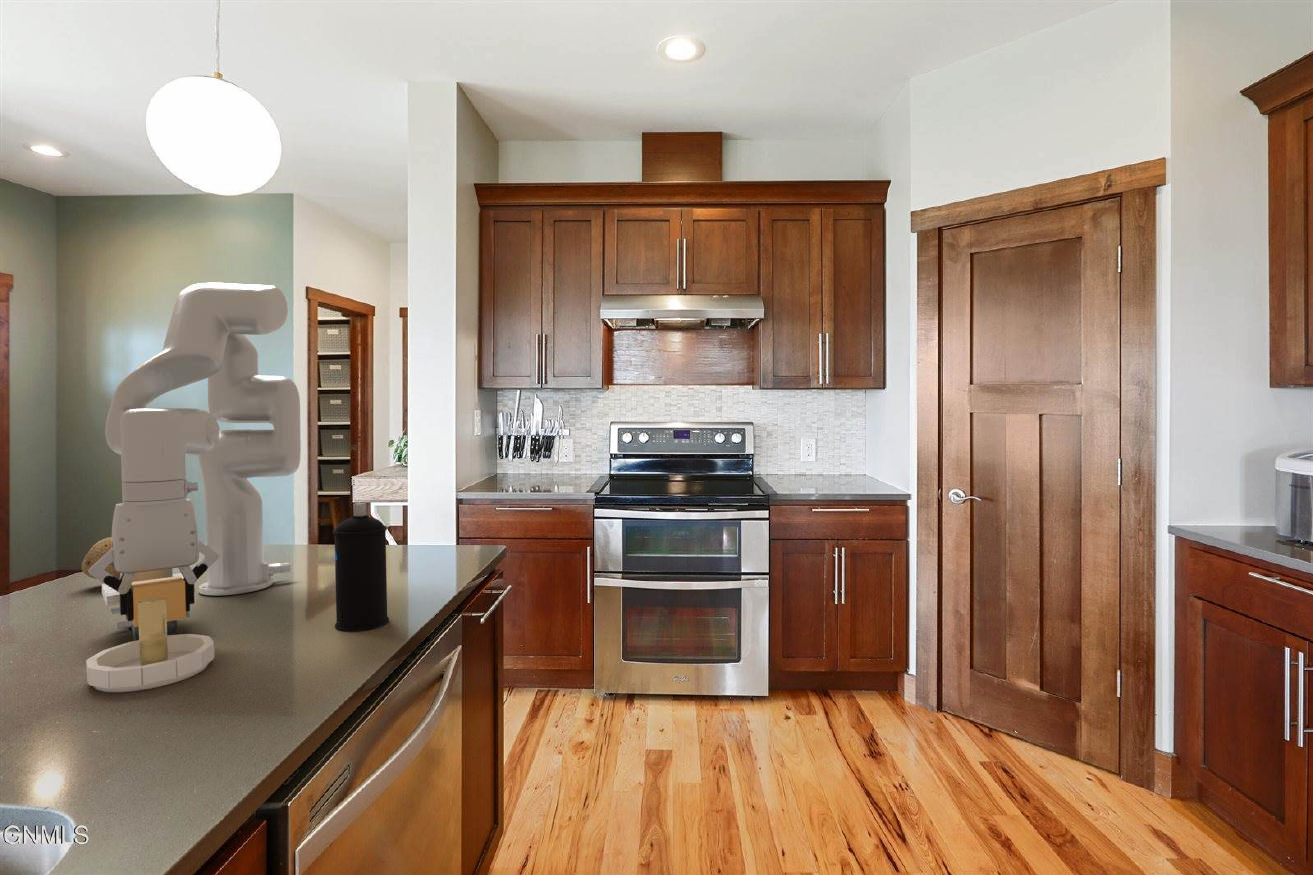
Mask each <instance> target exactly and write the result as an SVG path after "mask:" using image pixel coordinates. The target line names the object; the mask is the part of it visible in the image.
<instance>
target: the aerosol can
mask: <svg viewBox="0 0 1313 875" xmlns="http://www.w3.org/2000/svg"><path fill="white" fill-rule="evenodd" d="M352 507H353V509H352V510H353V515H352V516H351V517H349V518H346V519H345V520H343V521H341V522H340V523H339V524H338V525H337V526H336V528H334V529H333V530H332V534H333V535H334V536H333V537H334V566H335V575H334V576H335V612H336V614H335V617H336V619H335V620H336V622H335V624H334V628H335V629H336V630H338V631H342V632H363V631H364V632H365V631H370V630H375V629H377V628H378V629H379V628H381V627H382V626H385V625H387V624H388V623H389V621H390V617H389V616H388V588H387V587H388V585H387V583H388V582H387V544H386V543H387V536H386V533H387V530H388V526H386V525H384V523H383V522H382V521H381V520H379V519H378V518H376V517H372V516H369V515H367V503H366V502H356V503H355V502H354V503H353V504H352Z"/></svg>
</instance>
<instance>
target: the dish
mask: <svg viewBox="0 0 1313 875" xmlns="http://www.w3.org/2000/svg"><path fill="white" fill-rule="evenodd" d="M167 643H168V661H163V662H158V663H153V664H148V665H144V666H140V645H139V640H137V641H134V640H133V641H128V642H125V643H122V644H119V645H116V646H113V647H109V648H107V649H103V650H101V651H99V652H98V653H96V654H94V655H92V656H91V657H89V658H87V659H86V661H85V662H86V663H85V666H86V681H87V684H88V686H92V687H93V688H94V689H95V690H97V691H99V692H105V693H127V692H129V693H130V692H136V691H145V690H150V689H155V688H160V687H163V686H168V685H171V684H175V683H177V682H181V681H183V680H186V679H189V678H191V677H194V676H196V675H197V674H200V673H201V672H203V671H204V670H206V669H207V667H208V666H209V664H210V663H211V661H213V660H214V659H215V641H214V640H213V639H212V638H211V636H209V635H202V634H194V633H184V634H183V633H182V634H181V633H180V634H176V635H167Z"/></svg>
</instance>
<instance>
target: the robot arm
mask: <svg viewBox="0 0 1313 875" xmlns="http://www.w3.org/2000/svg"><path fill="white" fill-rule="evenodd" d="M288 310H289V309H288V302H287V299H286V296H285V294H284V293H283V292H282V290H281V289H280V288H278V287H277V286H275V285H267V284H266V285H265V284H245V283H244V284H243V283H229V282H226V283H224V282H205V283H204V282H201V283H196V284H192V285H190V286H189V285H188V287H186V288H185V289H182V291H180V292H179V293H178V295H177V297H176V299H175V303H174V307H173V310H172V313H171V317H170V321H169V325H168V329H167V331H166V334H165V339H164V342H163V348H162V350H161V351H160V352H159V353H158V354H156V355H154V356H152V357H151V358H149V359H148V360H146V361H145V362H143V363H142V364H140V365H139V366H138V367H136V368H135V369H134V370H133V371H132V372H130V373H129V374H128V375H127V376H126V377H124V379H123V380H121V382H120V383H119V384H118V386H117V387H116V389H115V391H114V393H113V396H112V399H111V403H110V405H109V406H110V407H109V410H108V413H107V416H106V420H105V427H104V428H105V429H104V434H105V435H104V436H105V440H106V443H107V445H108V447H109V448H110V450H112V452H114V453H115V454H117V455H120V459H121V460H120V461H121V463H120V464H121V495H122V498H121V499H122V502H121V503H116V504H115V507H114V510H113V516H112V522H111V523H112V525H111V537H112V541H111V549H110V550H109V551H108V552H107V553H106V554H105V555H104V556H103V557H101V558H100V559H99V560H98V561H97V562H96V563H95V564H94V565H93V566H92V567H91V568H90V569H89V570H88V572H89V574H90V575H91V576H93V577H95V578H96V579H95V578H94V579H95V580H98V581H100V582H102V584H106V585H108V586H109V587H111V588H113V589H114V590H116V591H117V592H119V593H120V604H119V607H120V614H119V615H120V616H125V619H126V618H127V620H128V621H132V620H133V619H134V612H133V593H132V591H131V587H130V586H131V584H132V582H133V580H134V578H135V575H136V573H140V572H148V571H156V570H164V569H171V568H172V569H177V568H178V570H179V572H180V573H181V574H182V575H183V577H184V578H183V580H184V581H185V601H186V612H187V611H189V612H190V611H191V605H194V604H195V602H196V601H195V593H194V583H195V584H196V583H197V581H198V580H199V578H201V576H202V575H204V574H205V573H206V572H207V581H206V582H203V583H202V584H200V585H198V593H199V594H201V595H204V596H212V597H213V596H214V597H215V596H231V595H234V596H235V595H239V594H247V593H252V592H256V591H259V590H263V589H266V588H269V587H270V586H272V585H273V583H274V578H273V577H272V576H274V574H285V573H289V572H291V563H290V562H284V563H283V562H282V563H280V562H278V563H277V562H276V563H269V562H267V561H265V560H264V559H265V558H264V556H265V554H264V527H263V525H264V524H263V523H264V522H263V521H264V517H263V499H262V496H261V495H260V493H259V491H258V490H257V489H256V487H255V486H254V485H253V484H252V483H251V482H250V481H249V480H248V479H250V478H270V477H271V478H272V477H273V478H275V477H287V476H292V475H293V474H295V473H296V472H297V471H298V469H299V468H300V467H299V466H300V463H301V448H302V447H301V444H302V442H301V401H300V400H301V399H300V394H299V389H298V387H297V385H296V382H295V381H293V380H292V379H291V378H289V377H286V376H280V375H260V374H259V366H258V365H259V361H258V360H259V356H258V350H257V348H256V347H255V345H254V344H253V343H252V342H251V340H250V339H249V338H248V337H247V336H246V335H248V336H249V335H252V336H253V335H255V336H257V335H259V336H260V335H263V336H264V335H268V334H271V333H273V332H274V331H277V330H279V329H281V328H282V327H283V326H284V324H285V323H286V321H287V317H288ZM206 379H207V406H208V411H207V410H205V409H201V408H193V407H192V408H189V407H187V408H185V407H183V408H180V407H179V408H174V407H173V408H171V407H161V408H160V407H148V405H150V403H152V402H153V401H154V400H155V399H157V398H159V397H160V396H162V395H164V394H166V393H169V392H171V391H174V390H176V389H177V390H178V389H180V388H182V387H183V388H184V387H186V386H190V385H193V384H195V383H197V382H200V381H203V380H206ZM218 422H219V423H220V422H221V423H227V424H228V423H229V424H265V423H266V424H271V425H272V427H273V429H223V430H220V425H219V423H218ZM186 456H187V457H188V456H198V462H199V466H200V470H201V475H202V480H203V486H204V497H205V500H204V501H205V524H206V526H205V528H206V533H205V534H206V544H205V543H203V542H202V541H201V540H199V531H198V524H197V518H196V512H195V507H194V504H193V502H192V499H191V498H187V497H188V495H189V493H192V492H198V490H199V485H198V482H192V481H189V480H187V479H186V478H187V477H186ZM200 554H202V555H203V556H204V558H203V559H202V560H201V561H200V562H199V563H198V564H197V565H195V566H194V567H193V568H192V567H191V566H192V565H194V564H196V563H197V562H198V561H199V559H200ZM110 563H112V566H113V567H114V568H115V570H116V571H117V572H119V573H122V575H121V577H120V580H119V579H117V578H116V577H114V576H112V575H110V574H109V573H107V572H106V571H105V568H106V567H107V566H108V565H109V564H110Z"/></svg>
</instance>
